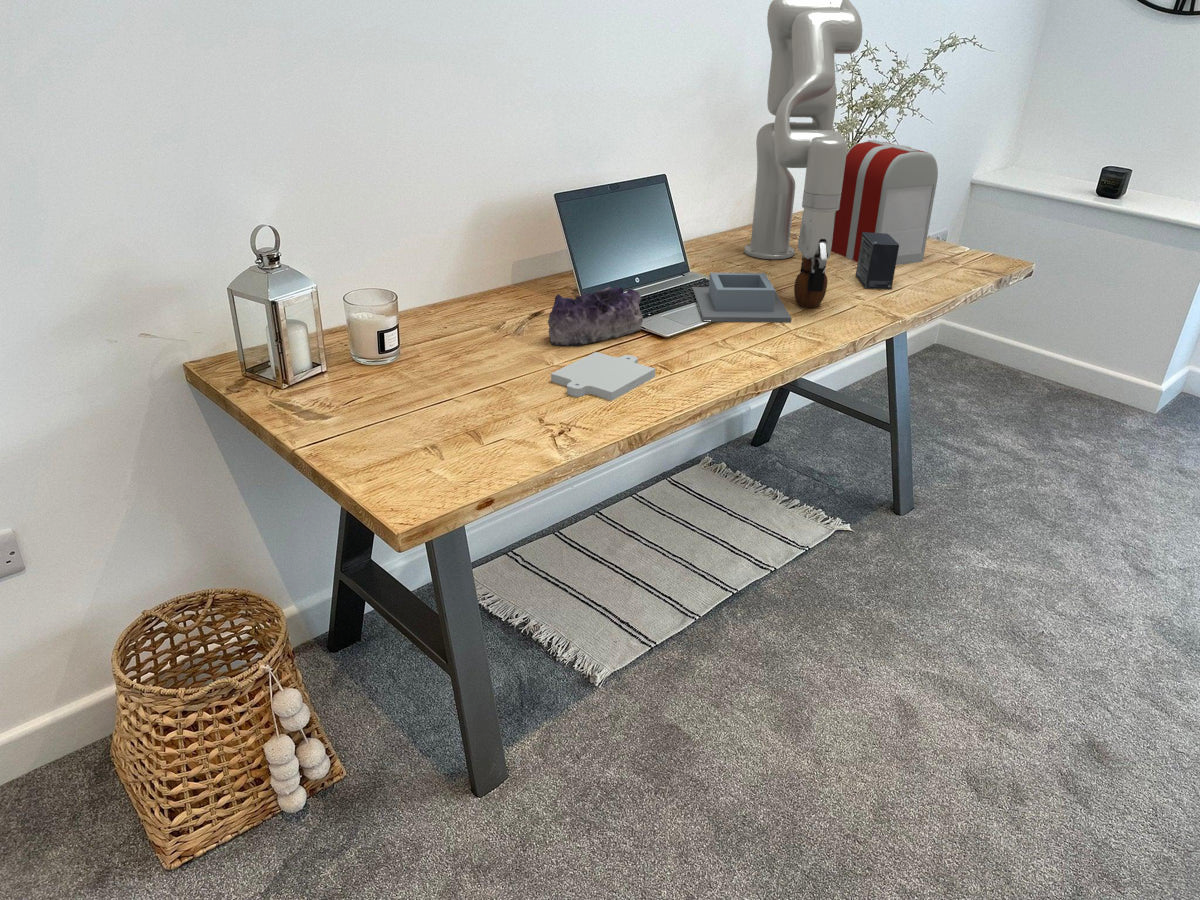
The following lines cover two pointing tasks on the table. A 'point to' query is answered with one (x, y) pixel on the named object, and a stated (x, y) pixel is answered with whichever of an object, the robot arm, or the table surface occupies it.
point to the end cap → (740, 299)
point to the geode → (594, 317)
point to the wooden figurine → (800, 287)
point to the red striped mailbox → (886, 198)
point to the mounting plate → (603, 375)
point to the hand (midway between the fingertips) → (810, 285)
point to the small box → (877, 260)
